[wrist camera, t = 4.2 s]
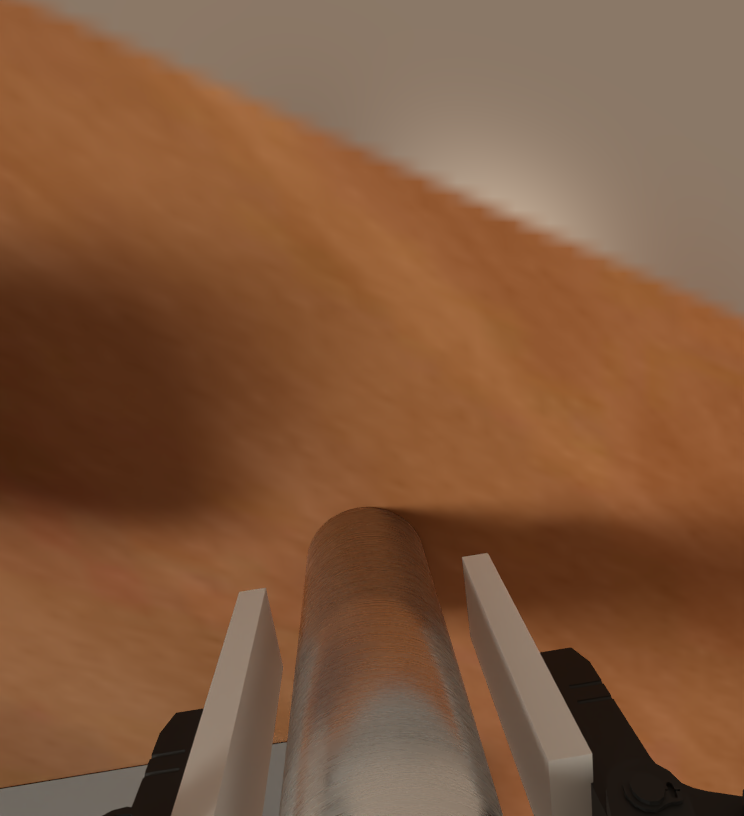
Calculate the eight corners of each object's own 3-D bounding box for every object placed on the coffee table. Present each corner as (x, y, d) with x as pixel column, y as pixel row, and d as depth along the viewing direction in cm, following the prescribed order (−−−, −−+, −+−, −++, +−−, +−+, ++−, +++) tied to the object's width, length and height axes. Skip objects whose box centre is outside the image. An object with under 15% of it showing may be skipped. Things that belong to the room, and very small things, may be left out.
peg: (298, 517, 18) (163, 1336, 4) (416, 498, 18) (665, 1242, 4) (317, 620, 19) (262, 1540, 5) (429, 602, 19) (664, 1463, 5)
